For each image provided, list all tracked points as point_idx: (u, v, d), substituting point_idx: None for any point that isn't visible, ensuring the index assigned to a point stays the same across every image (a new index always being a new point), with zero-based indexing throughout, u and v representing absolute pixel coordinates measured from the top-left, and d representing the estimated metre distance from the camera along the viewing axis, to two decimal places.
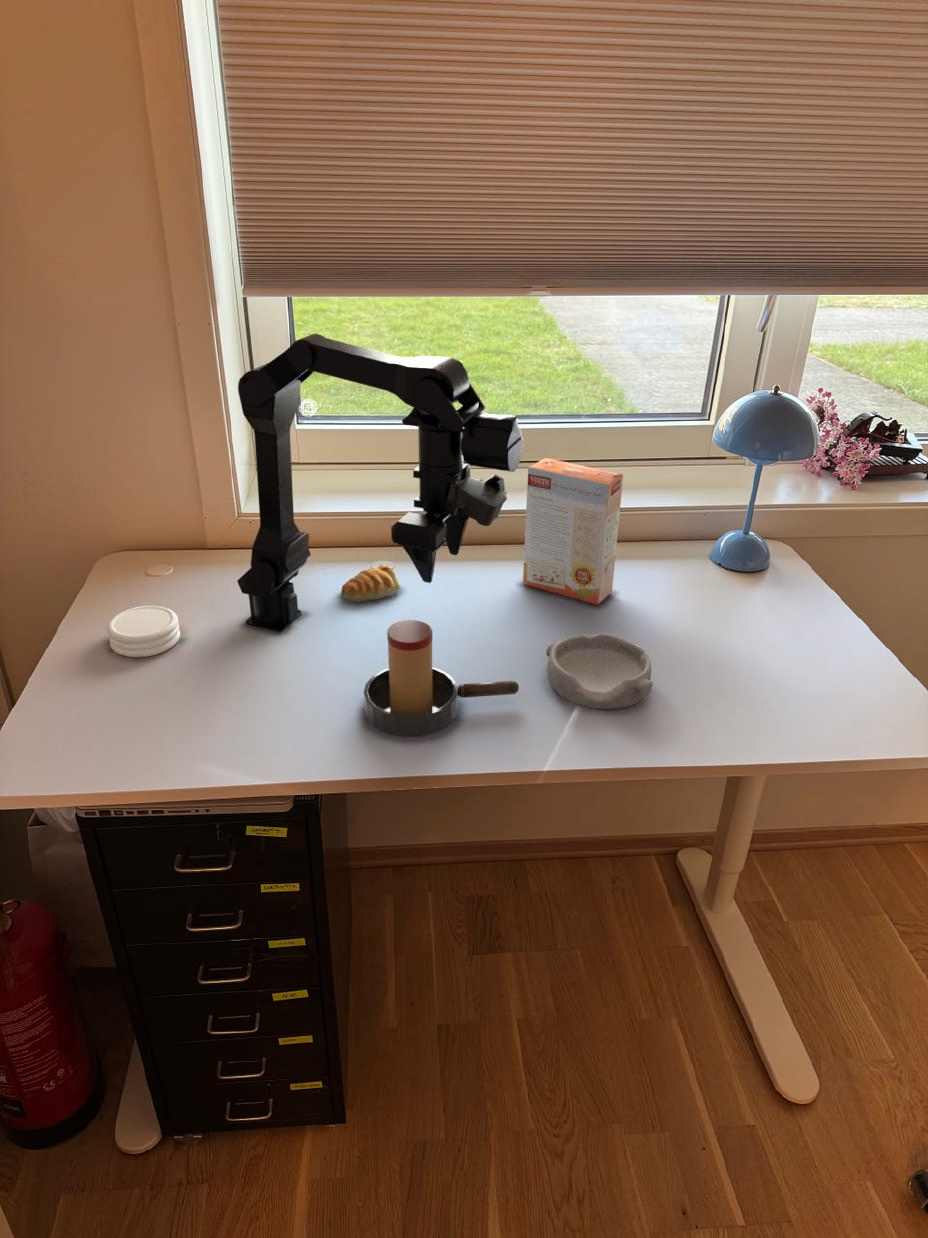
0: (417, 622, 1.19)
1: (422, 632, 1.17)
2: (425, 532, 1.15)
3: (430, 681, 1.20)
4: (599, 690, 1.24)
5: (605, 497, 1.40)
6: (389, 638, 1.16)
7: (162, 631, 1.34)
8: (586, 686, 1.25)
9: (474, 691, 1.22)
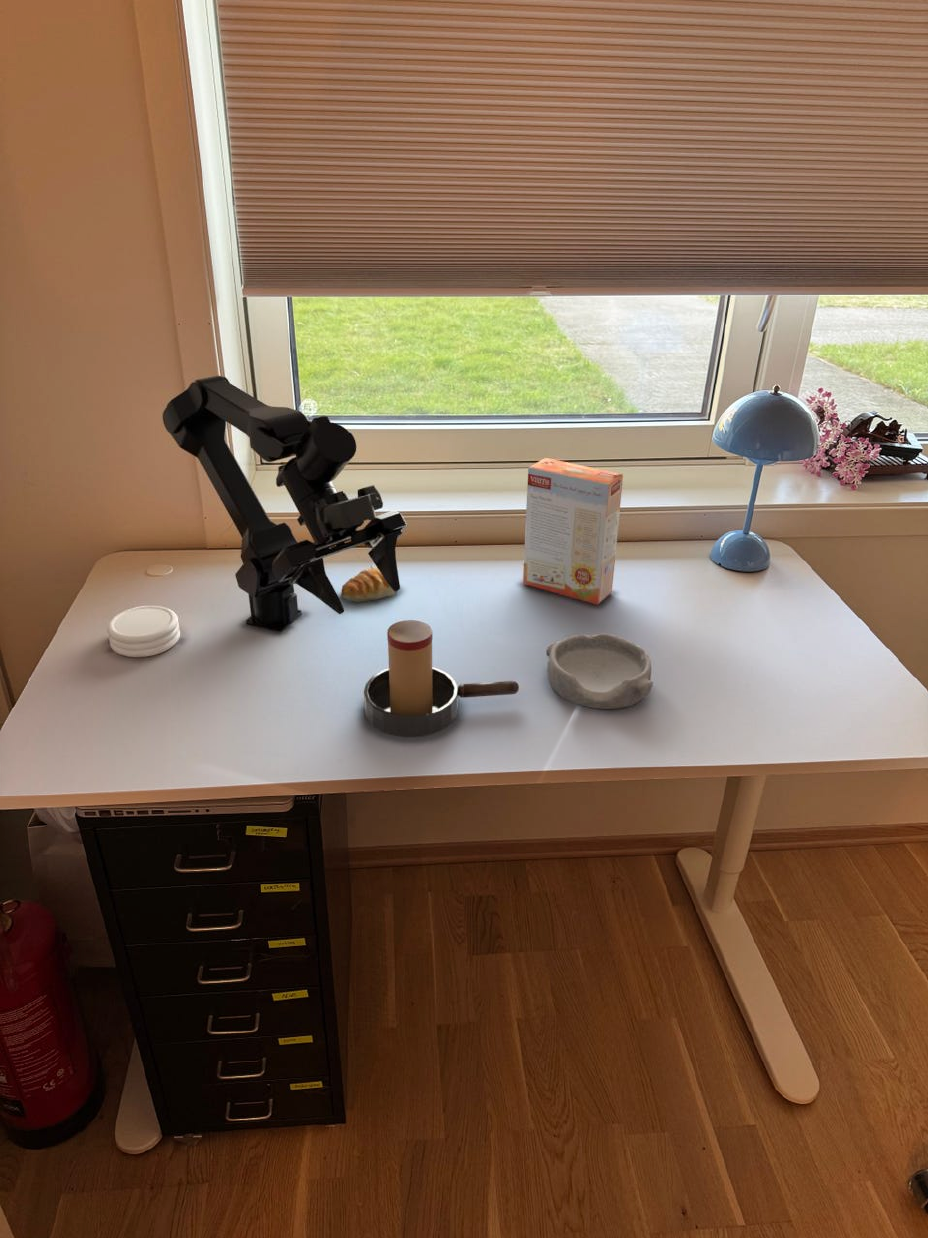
0: (417, 622, 1.19)
1: (422, 632, 1.17)
2: (282, 553, 1.16)
3: (430, 681, 1.20)
4: (599, 690, 1.24)
5: (605, 497, 1.40)
6: (389, 638, 1.16)
7: (162, 631, 1.34)
8: (586, 686, 1.25)
9: (474, 691, 1.22)
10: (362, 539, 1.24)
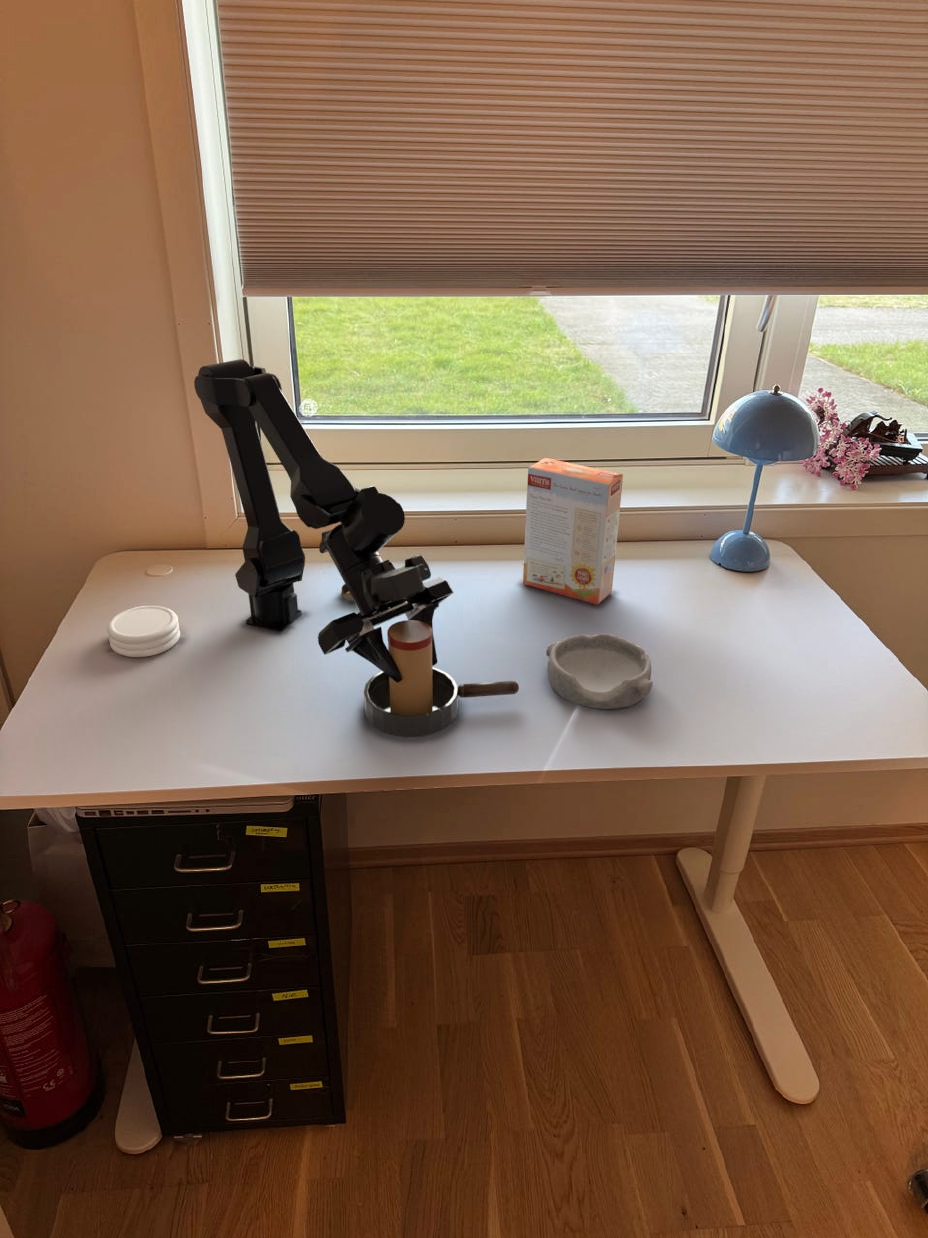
0: (417, 622, 1.19)
1: (422, 632, 1.17)
2: (330, 627, 1.13)
3: (430, 681, 1.20)
4: (599, 690, 1.24)
5: (605, 497, 1.40)
6: (389, 638, 1.16)
7: (162, 631, 1.34)
8: (586, 686, 1.25)
9: (474, 691, 1.22)
10: (408, 608, 1.21)
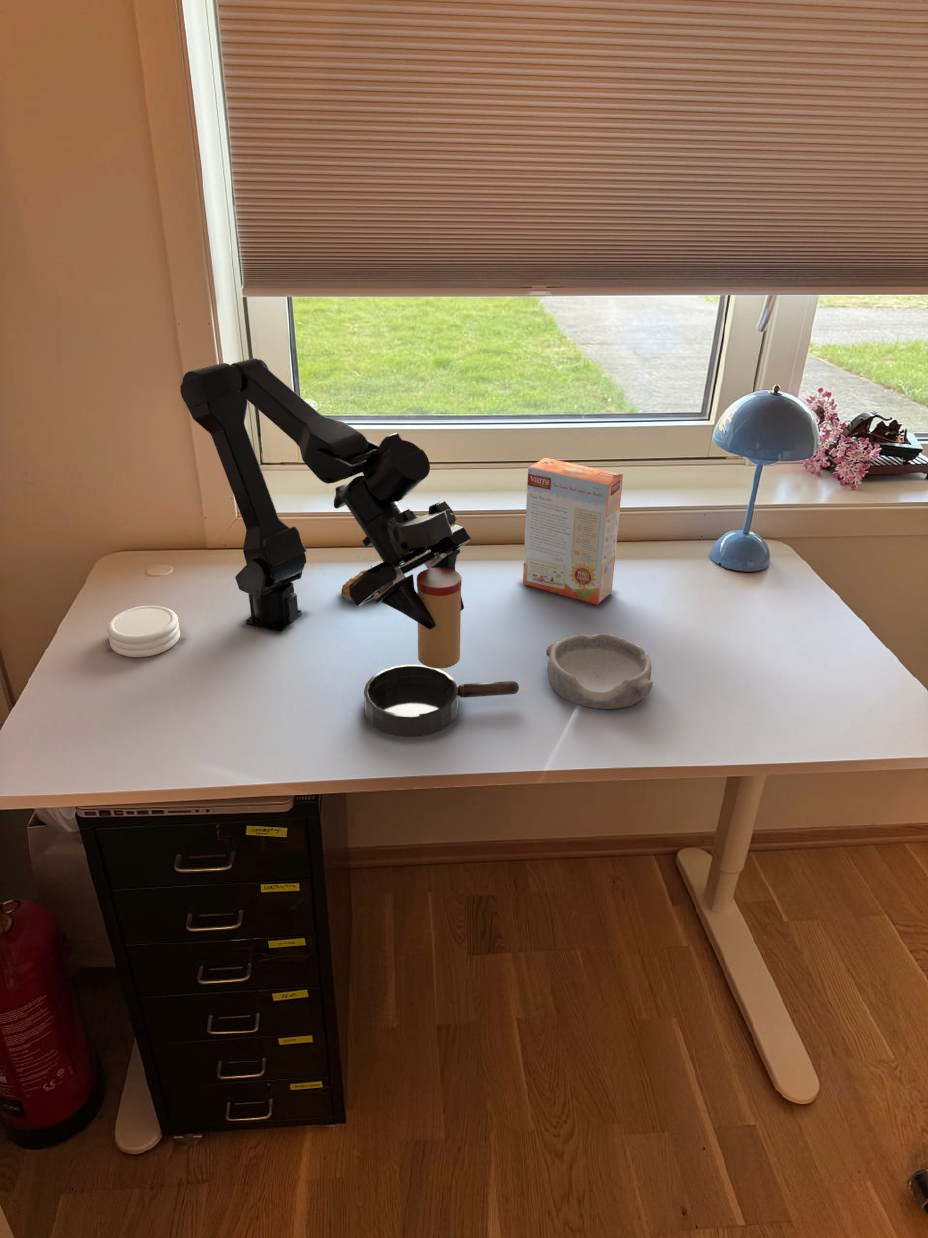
0: (443, 569, 1.20)
1: (452, 577, 1.18)
2: (365, 576, 1.12)
3: (459, 627, 1.21)
4: (599, 690, 1.24)
5: (605, 497, 1.40)
6: (421, 585, 1.17)
7: (162, 631, 1.34)
8: (586, 686, 1.25)
9: (474, 691, 1.22)
10: (430, 556, 1.22)
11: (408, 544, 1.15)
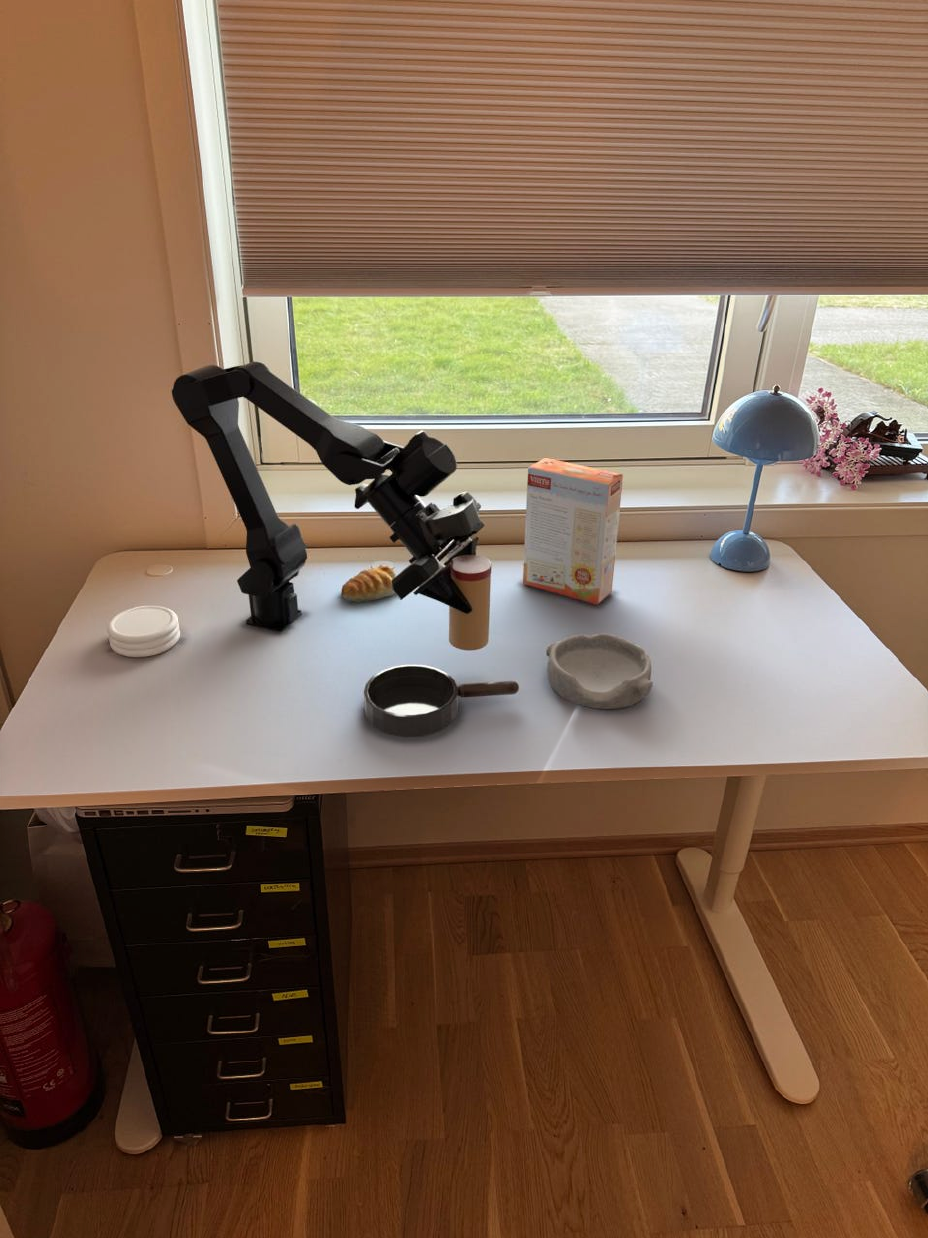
0: (469, 556, 1.27)
1: (482, 562, 1.25)
2: (412, 569, 1.18)
3: (489, 608, 1.28)
4: (599, 690, 1.24)
5: (605, 497, 1.40)
6: (457, 573, 1.23)
7: (162, 631, 1.34)
8: (586, 686, 1.25)
9: (474, 691, 1.22)
10: (452, 546, 1.28)
11: (442, 535, 1.22)
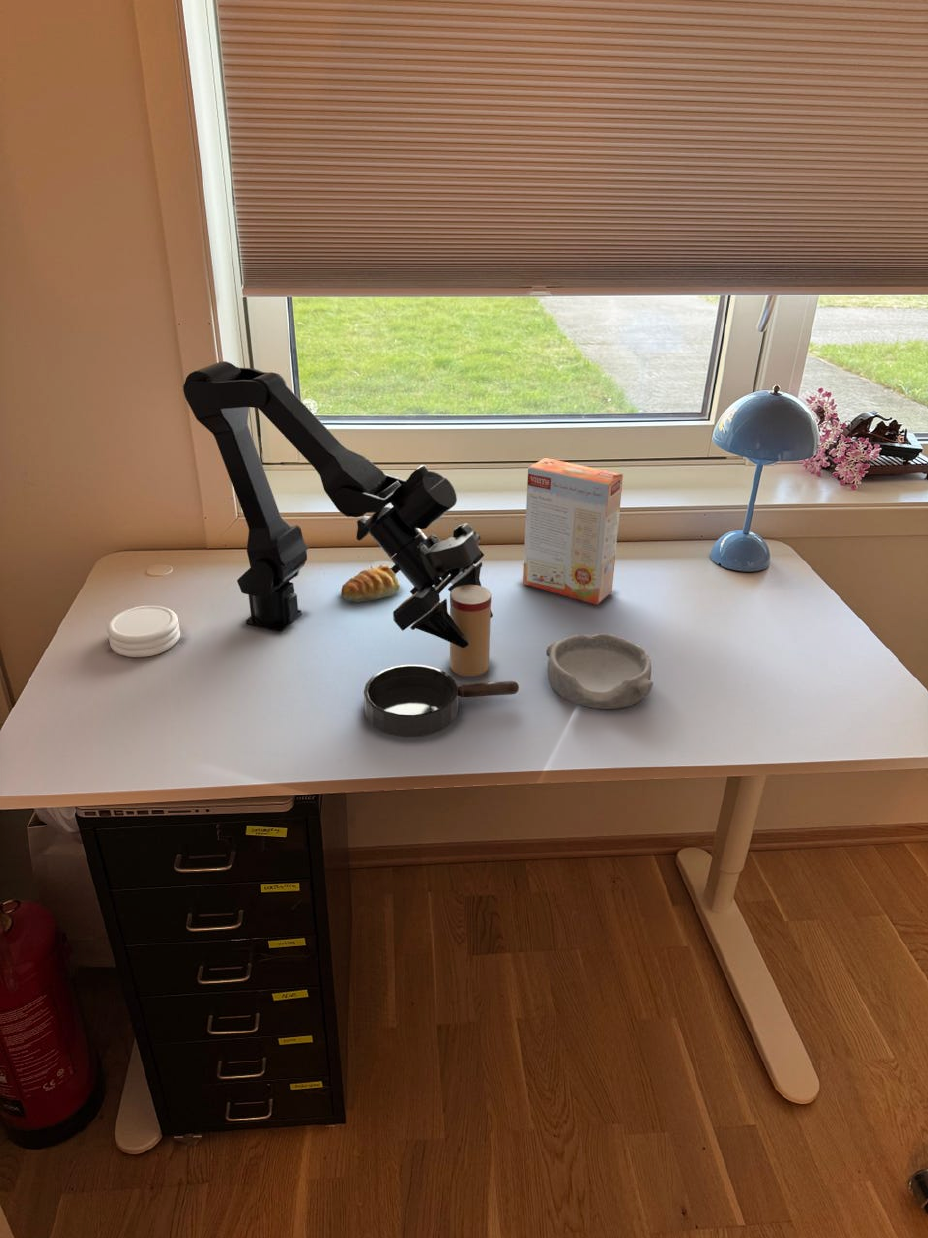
0: (470, 586, 1.29)
1: (482, 593, 1.27)
2: (413, 602, 1.20)
3: None
4: (599, 690, 1.24)
5: (604, 497, 1.40)
6: (457, 603, 1.25)
7: (162, 631, 1.34)
8: (586, 686, 1.25)
9: (474, 691, 1.22)
10: (452, 576, 1.31)
11: (443, 567, 1.24)
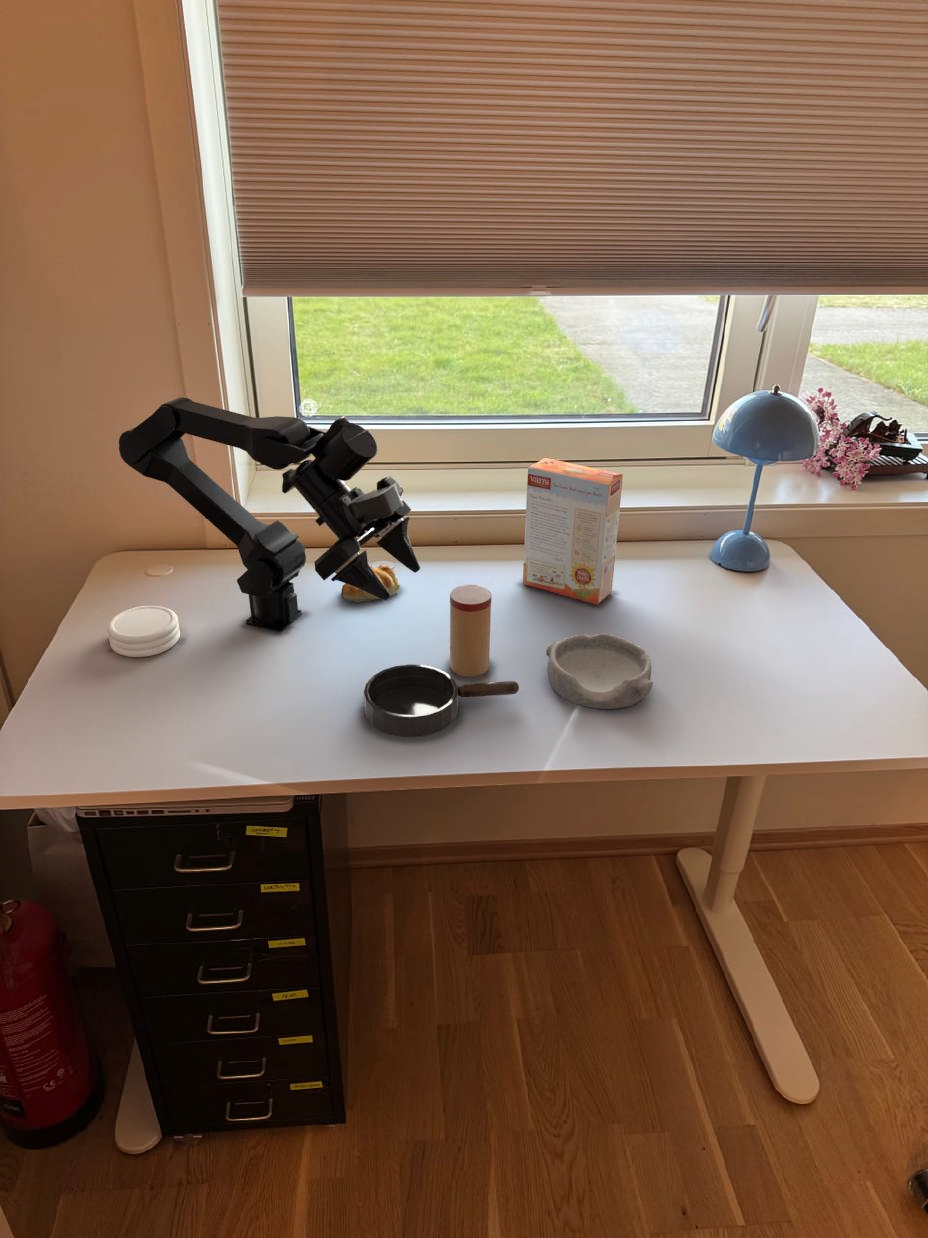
0: (470, 586, 1.29)
1: (482, 593, 1.27)
2: (332, 550, 1.21)
3: None
4: (599, 690, 1.24)
5: (604, 497, 1.40)
6: (457, 603, 1.25)
7: (162, 631, 1.34)
8: (586, 686, 1.25)
9: (474, 691, 1.22)
10: (378, 529, 1.32)
11: (365, 518, 1.25)
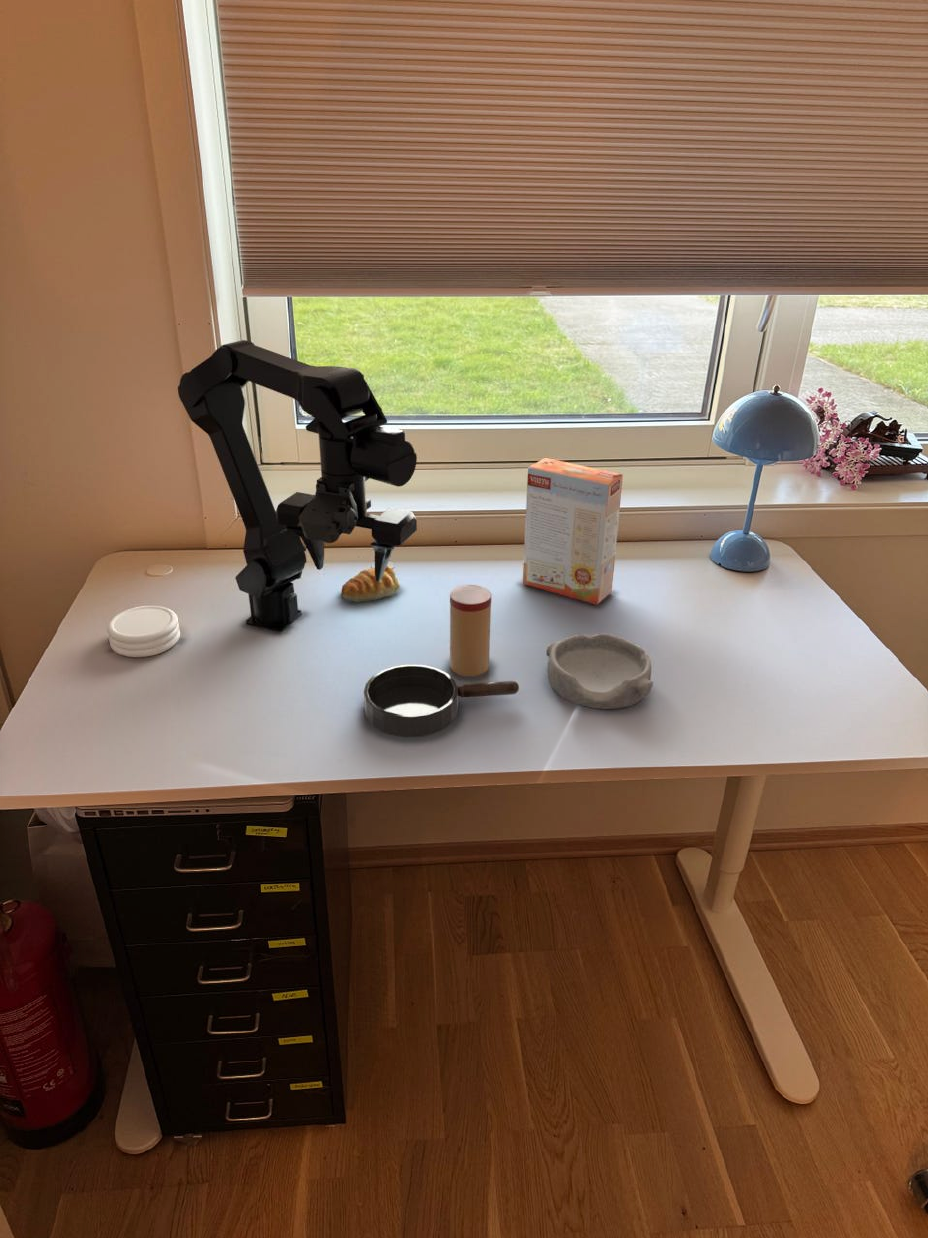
0: (470, 586, 1.29)
1: (482, 593, 1.27)
2: None
3: None
4: (599, 690, 1.24)
5: (604, 497, 1.40)
6: (457, 603, 1.25)
7: (162, 631, 1.34)
8: (586, 686, 1.25)
9: (474, 691, 1.22)
10: (365, 525, 1.24)
11: None
